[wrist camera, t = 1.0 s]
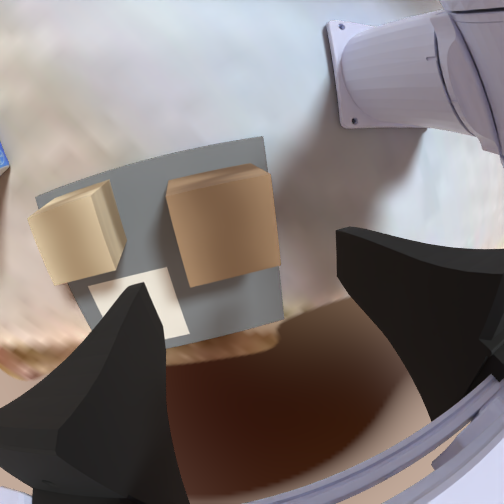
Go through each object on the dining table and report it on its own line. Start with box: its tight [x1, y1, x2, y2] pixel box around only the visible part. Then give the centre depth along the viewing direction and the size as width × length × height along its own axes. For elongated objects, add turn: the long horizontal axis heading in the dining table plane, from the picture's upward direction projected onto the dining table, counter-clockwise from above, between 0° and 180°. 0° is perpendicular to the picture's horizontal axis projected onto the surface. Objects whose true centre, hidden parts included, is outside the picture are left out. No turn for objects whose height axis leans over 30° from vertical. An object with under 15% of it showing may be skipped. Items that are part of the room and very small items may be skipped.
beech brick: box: [27, 179, 127, 286], centre depth 14 cm, size 4×4×4 cm
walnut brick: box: [166, 163, 281, 288], centre depth 16 cm, size 5×5×4 cm
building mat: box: [35, 136, 284, 348], centre depth 18 cm, size 15×14×1 cm
